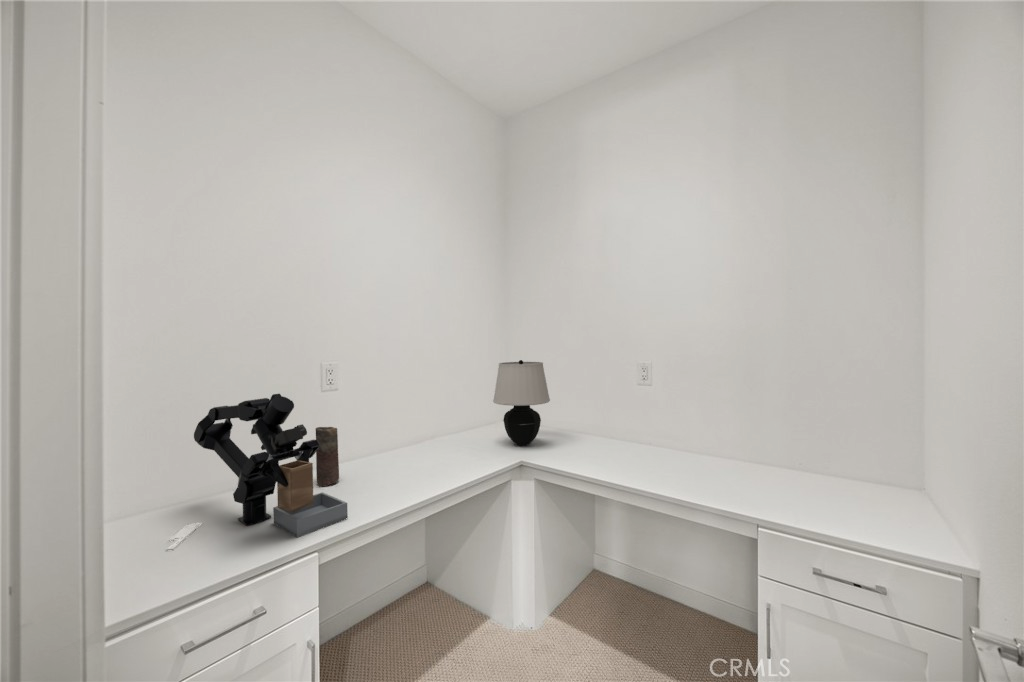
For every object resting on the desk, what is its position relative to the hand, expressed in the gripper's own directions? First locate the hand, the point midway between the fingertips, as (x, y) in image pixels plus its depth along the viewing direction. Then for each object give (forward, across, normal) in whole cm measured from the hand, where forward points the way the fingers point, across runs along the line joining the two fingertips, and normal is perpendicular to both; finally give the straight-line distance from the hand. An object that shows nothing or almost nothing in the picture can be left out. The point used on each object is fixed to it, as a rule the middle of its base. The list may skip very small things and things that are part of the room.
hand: (298, 481), depth 110 cm
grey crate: (+7, +6, +12) cm, 15 cm away
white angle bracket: (-9, -16, +29) cm, 34 cm away
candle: (-9, +30, +29) cm, 42 cm away
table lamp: (+19, +106, +1) cm, 107 cm away
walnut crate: (+4, 0, +6) cm, 7 cm away
